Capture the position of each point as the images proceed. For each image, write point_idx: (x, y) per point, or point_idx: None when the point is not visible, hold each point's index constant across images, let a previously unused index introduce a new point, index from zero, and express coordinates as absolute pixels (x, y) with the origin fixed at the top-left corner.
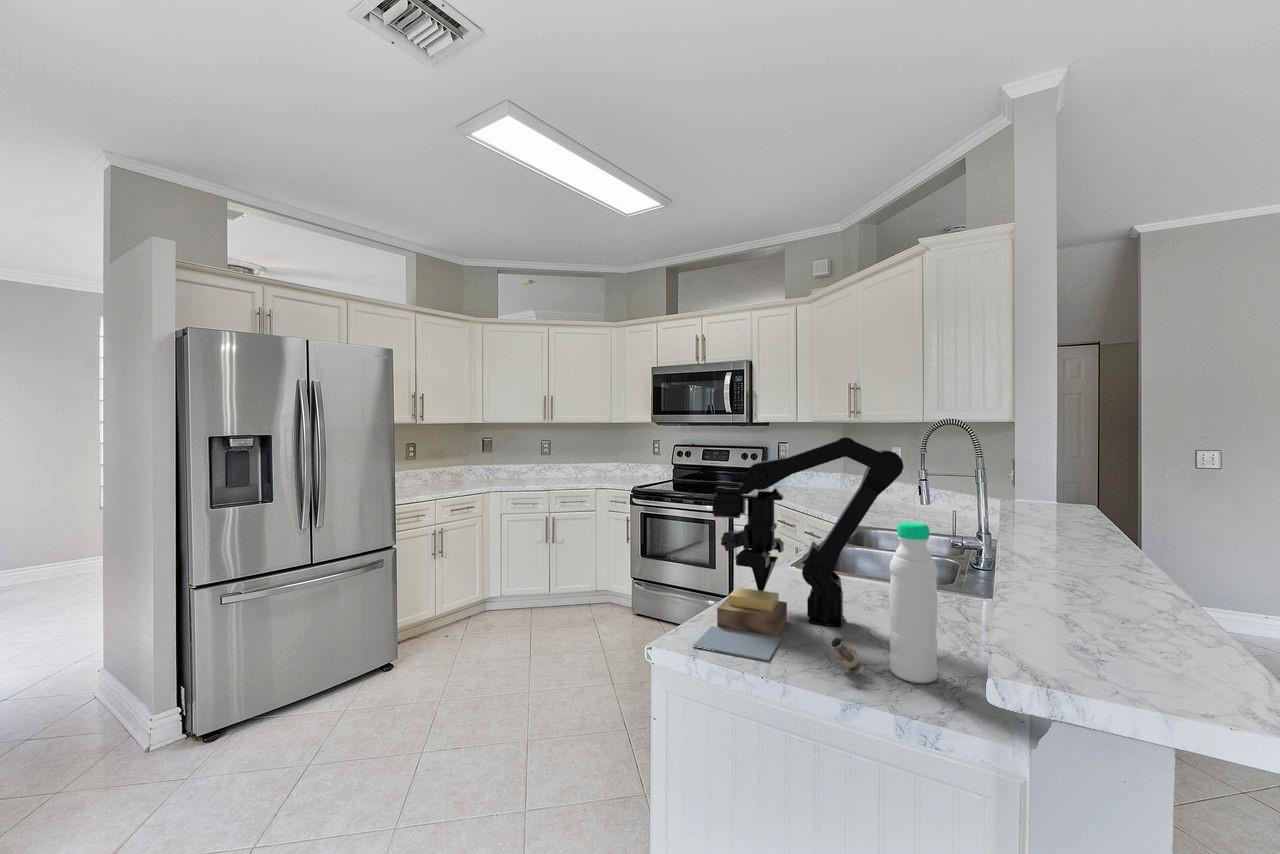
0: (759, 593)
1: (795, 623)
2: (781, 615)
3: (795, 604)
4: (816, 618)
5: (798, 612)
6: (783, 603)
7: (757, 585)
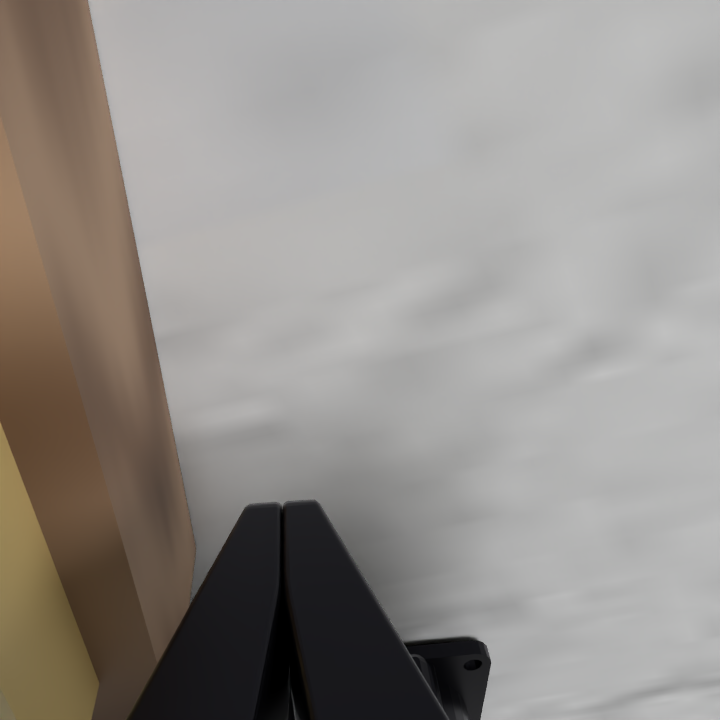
0: None
1: (190, 599)
2: None
3: (700, 498)
4: (288, 716)
5: (481, 559)
6: (103, 718)
7: (206, 588)
